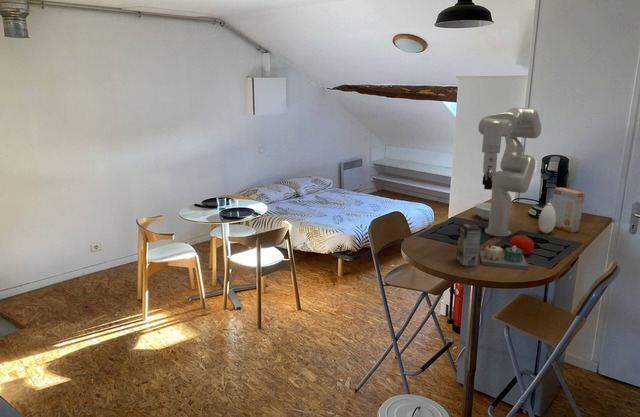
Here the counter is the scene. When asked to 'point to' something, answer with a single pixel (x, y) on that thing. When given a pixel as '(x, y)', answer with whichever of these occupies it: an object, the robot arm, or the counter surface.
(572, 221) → the cracker box
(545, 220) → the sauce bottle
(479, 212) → the cereal bowl
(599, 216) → the counter surface
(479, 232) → the brown printed box
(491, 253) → the gear board
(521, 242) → the tomato
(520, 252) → the teal gear
